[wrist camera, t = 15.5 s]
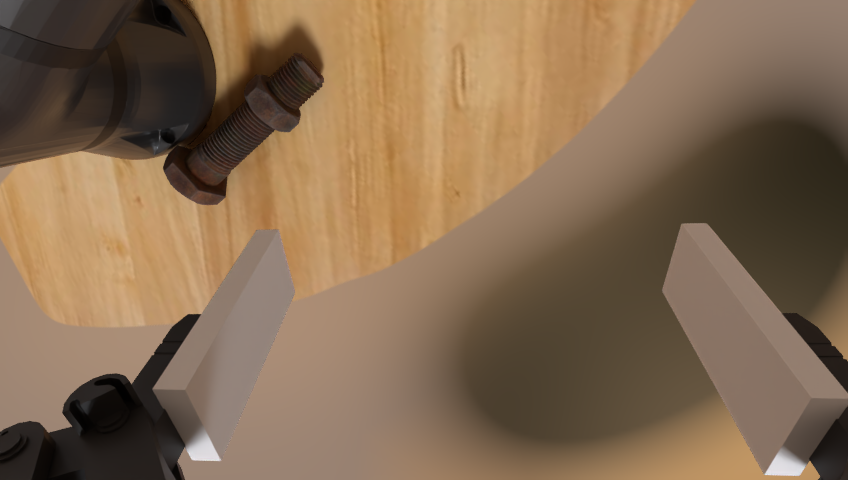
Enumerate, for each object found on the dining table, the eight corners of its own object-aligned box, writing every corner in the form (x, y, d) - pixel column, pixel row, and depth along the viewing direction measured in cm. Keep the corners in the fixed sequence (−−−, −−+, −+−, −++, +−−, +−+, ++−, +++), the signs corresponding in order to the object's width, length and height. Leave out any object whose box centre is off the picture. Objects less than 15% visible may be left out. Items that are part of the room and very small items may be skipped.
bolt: (330, 75, 41) (217, 180, 45) (286, 30, 38) (168, 147, 42) (338, 104, 37) (213, 217, 41) (289, 56, 34) (157, 184, 38)
